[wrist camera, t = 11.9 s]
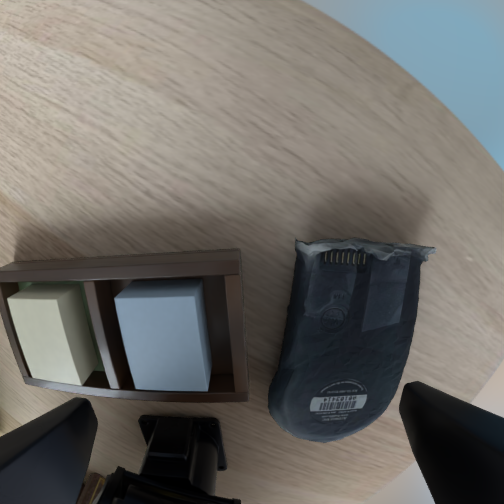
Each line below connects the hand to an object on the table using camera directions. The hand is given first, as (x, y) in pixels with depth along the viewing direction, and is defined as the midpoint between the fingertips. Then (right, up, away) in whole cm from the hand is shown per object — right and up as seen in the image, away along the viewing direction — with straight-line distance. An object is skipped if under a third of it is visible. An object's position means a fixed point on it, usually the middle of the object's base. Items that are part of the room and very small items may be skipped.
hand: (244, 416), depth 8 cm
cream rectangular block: (-13, -1, +11) cm, 17 cm away
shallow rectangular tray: (-9, 0, +12) cm, 15 cm away
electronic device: (+6, -2, +13) cm, 15 cm away
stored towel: (-5, 0, +12) cm, 13 cm away
